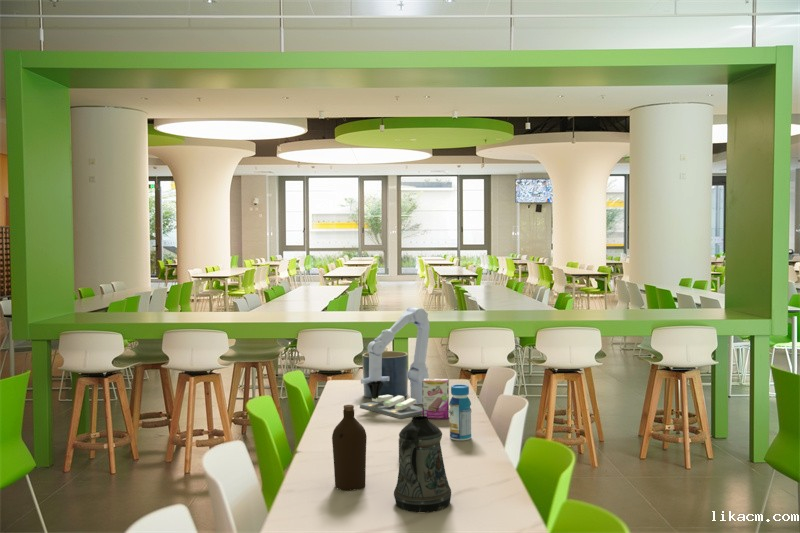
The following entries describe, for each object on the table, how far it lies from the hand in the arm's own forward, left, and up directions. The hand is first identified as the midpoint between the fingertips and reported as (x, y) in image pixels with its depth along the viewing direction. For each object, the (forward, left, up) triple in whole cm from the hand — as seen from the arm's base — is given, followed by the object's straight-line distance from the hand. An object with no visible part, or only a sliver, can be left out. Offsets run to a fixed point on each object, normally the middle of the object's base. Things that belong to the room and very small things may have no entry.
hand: (375, 398), depth 352 cm
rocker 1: (-4, 0, -1) cm, 4 cm away
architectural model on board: (+37, +75, -5) cm, 83 cm away
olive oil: (+71, +85, -5) cm, 110 cm away
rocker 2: (-4, +9, -1) cm, 9 cm away
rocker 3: (-4, +17, -1) cm, 18 cm away
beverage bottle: (+7, +65, -5) cm, 65 cm away
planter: (-21, -20, -5) cm, 30 cm away
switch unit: (-4, +9, -5) cm, 11 cm away
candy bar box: (-8, +33, -5) cm, 34 cm away
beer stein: (+65, +113, -5) cm, 130 cm away
